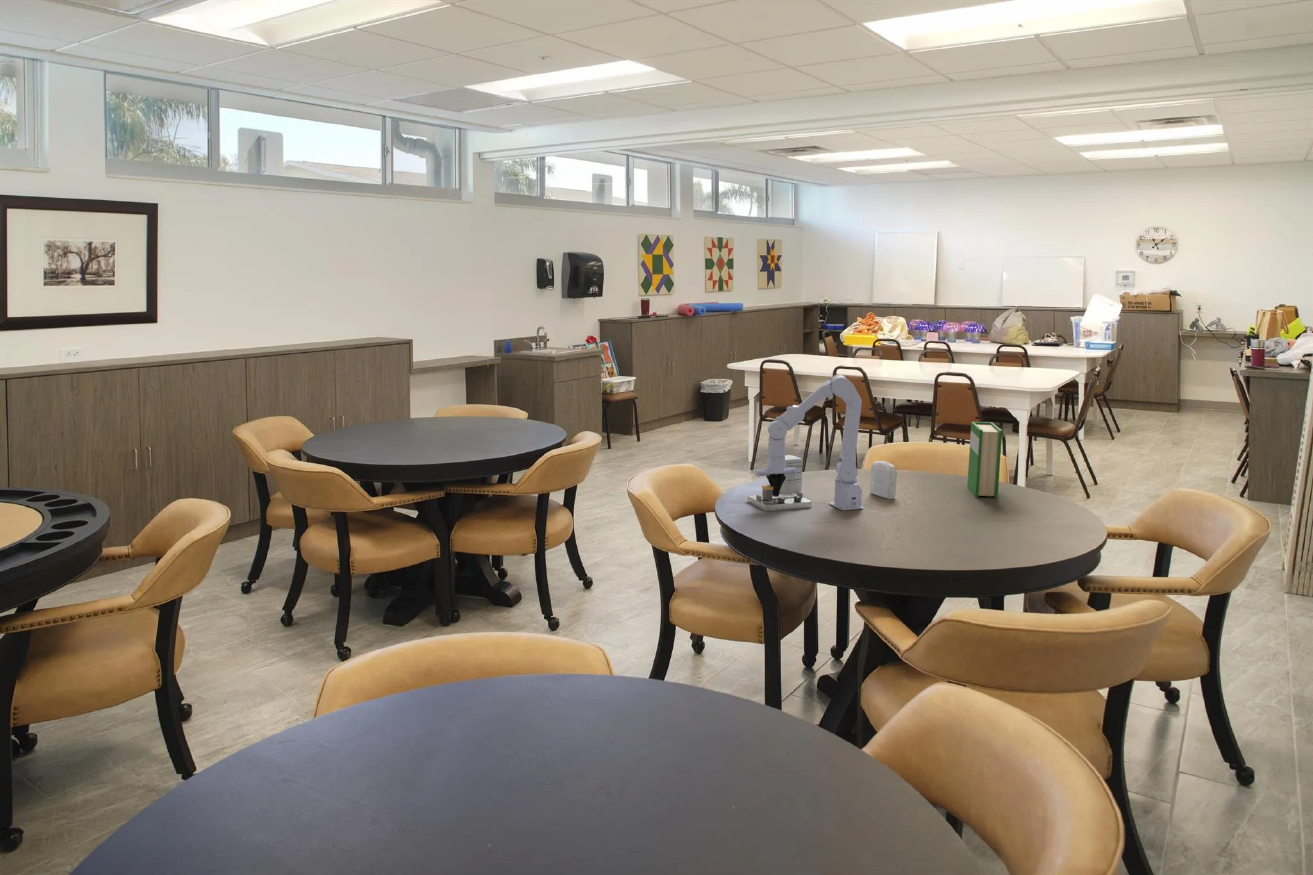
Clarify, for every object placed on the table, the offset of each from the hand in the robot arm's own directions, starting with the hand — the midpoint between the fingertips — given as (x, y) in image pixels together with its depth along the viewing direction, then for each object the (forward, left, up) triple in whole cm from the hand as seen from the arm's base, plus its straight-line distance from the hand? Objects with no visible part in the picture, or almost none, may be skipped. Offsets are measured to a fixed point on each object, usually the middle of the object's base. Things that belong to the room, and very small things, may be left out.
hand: (775, 496), depth 315 cm
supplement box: (+16, -13, -3) cm, 21 cm away
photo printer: (0, -42, -3) cm, 42 cm away
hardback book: (-6, -79, -3) cm, 79 cm away
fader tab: (0, +3, -1) cm, 3 cm away
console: (0, -2, -3) cm, 3 cm away
